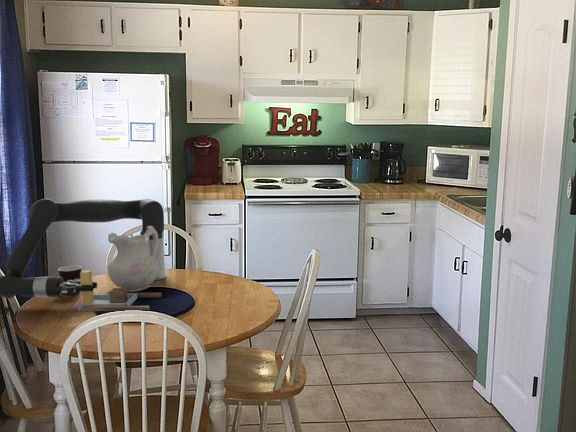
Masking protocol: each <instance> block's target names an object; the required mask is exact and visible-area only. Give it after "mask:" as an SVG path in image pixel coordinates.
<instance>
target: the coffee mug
mask: <svg viewBox="0 0 576 432" xmlns="http://www.w3.org/2000/svg"><path fill="white" fill-rule="evenodd" d="M57 270H58V275H59V276H58V277H62V278H63V279H64V281H65V282H67V281H68V280H73V281H74V279H81V276H80V272H82V266H81V265H66V266H62V267H59V268H58V269H57ZM79 294H81V292H79V293H78V294H77V295H79ZM68 296H75V294H69V295H68Z"/></svg>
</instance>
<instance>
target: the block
mask: <svg viewBox="0 0 576 432" xmlns="http://www.w3.org/2000/svg"><path fill="white" fill-rule="evenodd" d="M108 293H109V296H110V303H126V302H127V301H128V294H127V293H128V291H127V288H121V287H112V289H110V290H109V291H108Z"/></svg>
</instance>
